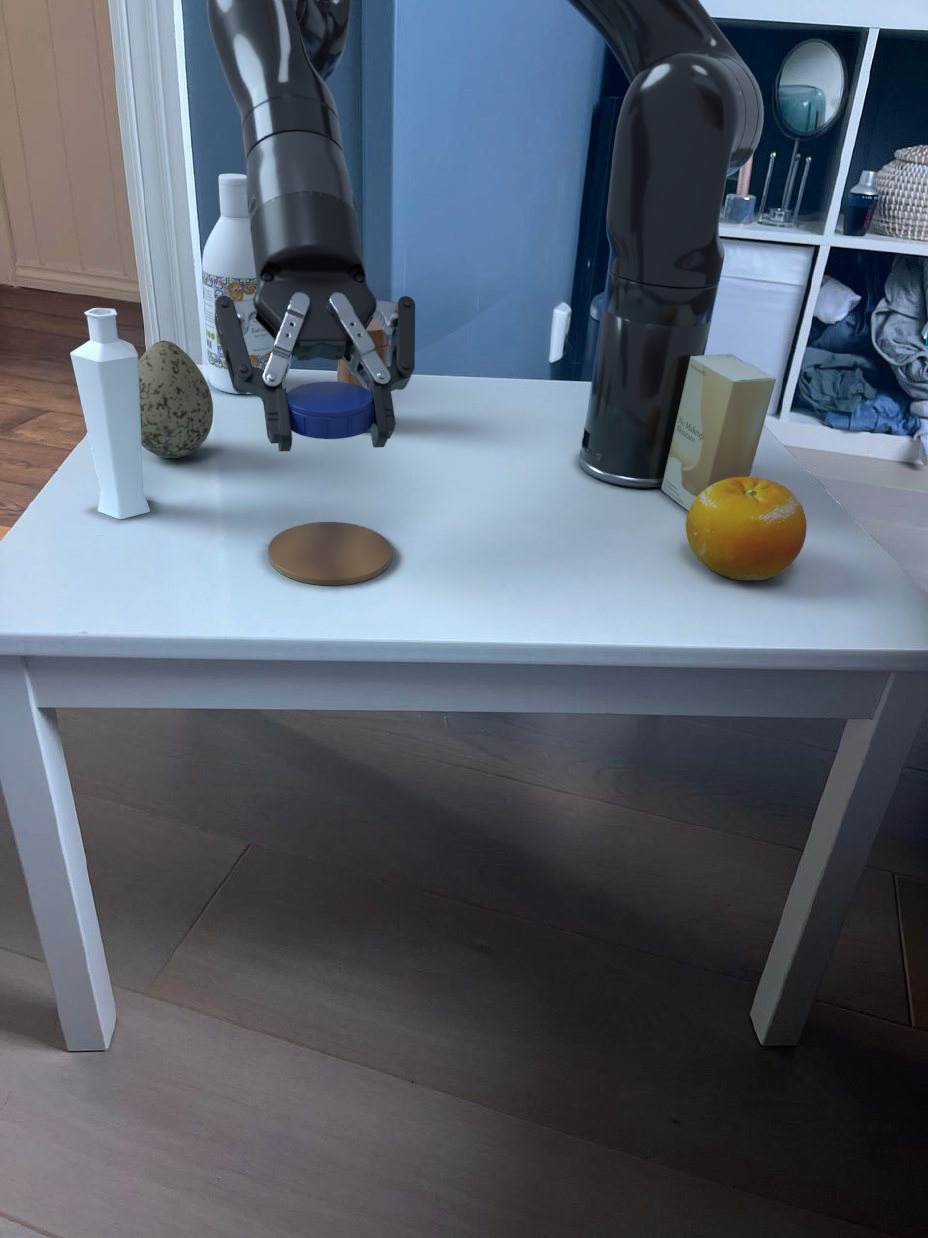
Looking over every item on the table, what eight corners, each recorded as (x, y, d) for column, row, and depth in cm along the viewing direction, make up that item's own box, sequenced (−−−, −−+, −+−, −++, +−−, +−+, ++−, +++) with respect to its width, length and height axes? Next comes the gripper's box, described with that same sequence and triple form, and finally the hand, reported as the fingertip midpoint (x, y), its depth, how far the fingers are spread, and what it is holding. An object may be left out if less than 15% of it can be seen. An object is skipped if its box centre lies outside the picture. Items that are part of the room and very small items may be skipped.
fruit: (654, 499, 75) (729, 436, 70) (731, 524, 80) (806, 466, 74) (681, 591, 71) (762, 531, 66) (760, 612, 76) (842, 558, 70)
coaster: (376, 523, 76) (377, 517, 76) (405, 579, 69) (405, 573, 69) (260, 531, 74) (260, 525, 73) (277, 591, 67) (277, 584, 66)
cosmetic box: (658, 490, 86) (685, 353, 79) (699, 486, 87) (729, 351, 81) (701, 522, 81) (733, 379, 74) (743, 516, 83) (778, 375, 76)
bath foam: (233, 400, 97) (222, 183, 86) (196, 380, 101) (181, 171, 91) (291, 388, 101) (287, 180, 91) (253, 369, 105) (245, 168, 95)
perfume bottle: (139, 525, 73) (116, 324, 65) (85, 516, 74) (56, 316, 66) (167, 500, 77) (149, 308, 69) (116, 492, 78) (91, 300, 70)
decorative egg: (158, 434, 88) (147, 323, 83) (230, 448, 87) (224, 336, 82) (113, 463, 82) (99, 345, 77) (190, 478, 81) (180, 359, 76)
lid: (268, 421, 66) (267, 394, 65) (335, 401, 70) (334, 375, 69) (324, 446, 63) (323, 418, 62) (390, 424, 66) (390, 397, 65)
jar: (381, 412, 97) (385, 315, 92) (393, 431, 93) (397, 330, 88) (332, 414, 96) (332, 316, 91) (342, 433, 92) (343, 331, 87)
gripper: (392, 253, 74) (424, 461, 71) (197, 250, 70) (222, 470, 67) (414, 190, 67) (450, 418, 64) (198, 182, 63) (226, 426, 60)
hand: (333, 444), depth 65 cm, fingers closed on lid, 6 cm apart
